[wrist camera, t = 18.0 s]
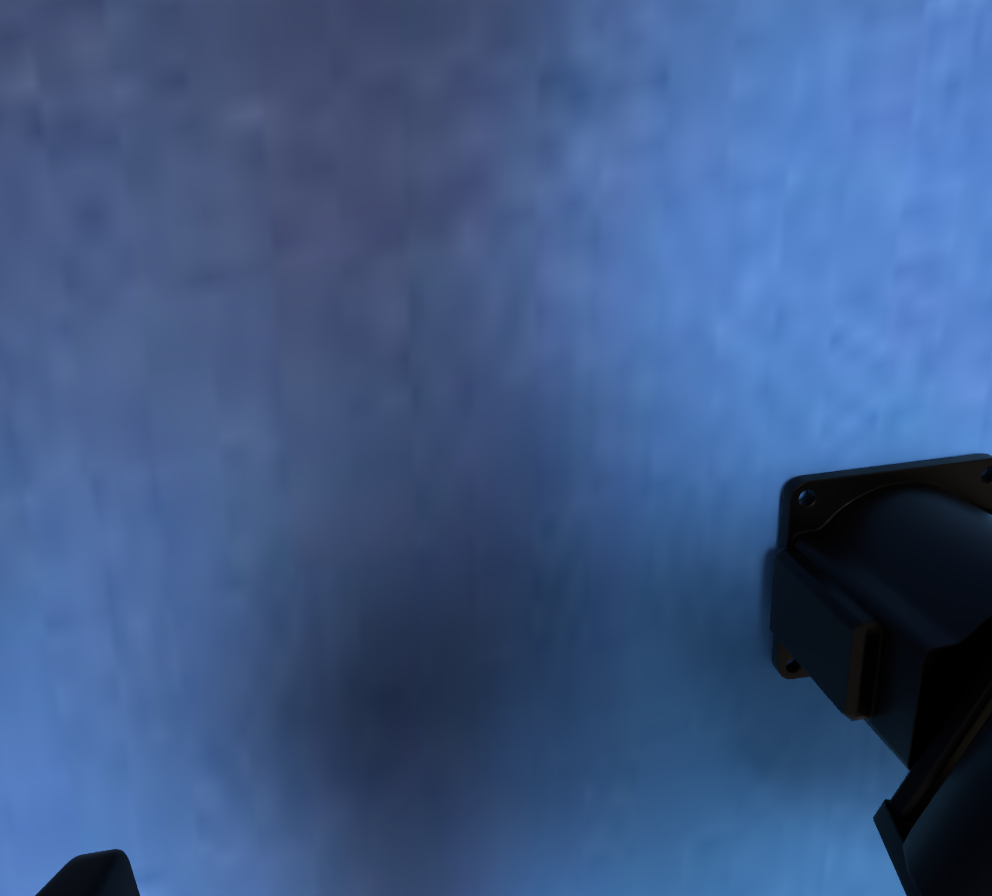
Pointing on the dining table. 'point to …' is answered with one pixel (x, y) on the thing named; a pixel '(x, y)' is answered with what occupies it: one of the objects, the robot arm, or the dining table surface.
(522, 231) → the dining table surface
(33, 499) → the dining table surface
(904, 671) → the robot arm
